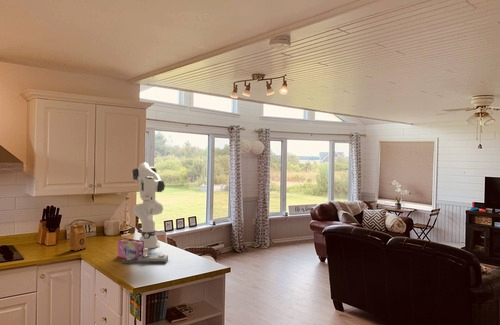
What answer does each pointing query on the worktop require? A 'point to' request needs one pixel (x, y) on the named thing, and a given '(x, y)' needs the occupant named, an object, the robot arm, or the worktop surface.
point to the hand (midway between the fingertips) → (149, 214)
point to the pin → (145, 253)
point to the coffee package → (77, 237)
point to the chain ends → (147, 260)
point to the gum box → (130, 248)
